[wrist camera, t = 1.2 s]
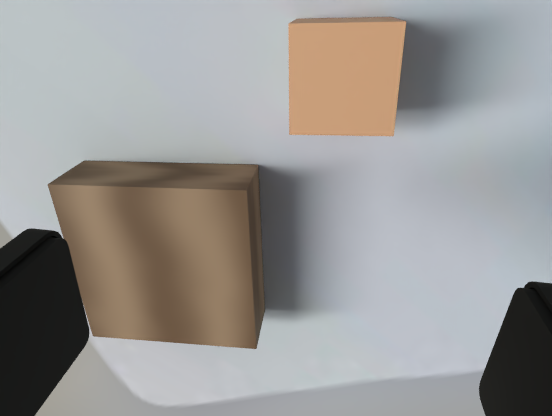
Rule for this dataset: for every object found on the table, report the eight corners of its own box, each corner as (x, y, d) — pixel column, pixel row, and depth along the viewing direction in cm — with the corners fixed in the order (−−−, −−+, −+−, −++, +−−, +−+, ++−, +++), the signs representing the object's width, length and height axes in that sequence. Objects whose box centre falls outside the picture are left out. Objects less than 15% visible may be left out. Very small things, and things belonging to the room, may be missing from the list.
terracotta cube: (391, 16, 22) (406, 21, 17) (382, 110, 24) (393, 136, 20) (297, 18, 22) (288, 23, 18) (297, 110, 25) (289, 134, 20)
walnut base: (258, 164, 26) (246, 190, 23) (264, 310, 32) (256, 348, 28) (83, 160, 28) (47, 184, 24) (118, 300, 33) (92, 336, 30)
